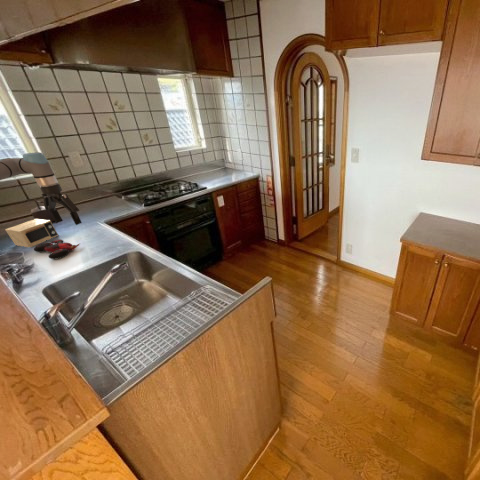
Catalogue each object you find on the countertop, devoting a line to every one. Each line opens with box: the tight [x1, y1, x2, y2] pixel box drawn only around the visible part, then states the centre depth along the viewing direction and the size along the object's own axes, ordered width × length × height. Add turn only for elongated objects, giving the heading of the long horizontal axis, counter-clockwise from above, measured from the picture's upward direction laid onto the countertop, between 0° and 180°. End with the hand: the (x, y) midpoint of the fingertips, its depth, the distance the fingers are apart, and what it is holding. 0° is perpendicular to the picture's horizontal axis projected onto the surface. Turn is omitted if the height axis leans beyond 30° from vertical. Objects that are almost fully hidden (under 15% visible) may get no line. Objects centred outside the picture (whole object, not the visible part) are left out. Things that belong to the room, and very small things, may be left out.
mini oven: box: [4, 218, 59, 248], centre depth 163 cm, size 13×16×11 cm
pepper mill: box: [30, 199, 56, 223], centre depth 190 cm, size 16×11×18 cm
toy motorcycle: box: [33, 238, 80, 260], centre depth 154 cm, size 25×5×16 cm
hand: (69, 222), depth 143 cm, fingers open, 13 cm apart
